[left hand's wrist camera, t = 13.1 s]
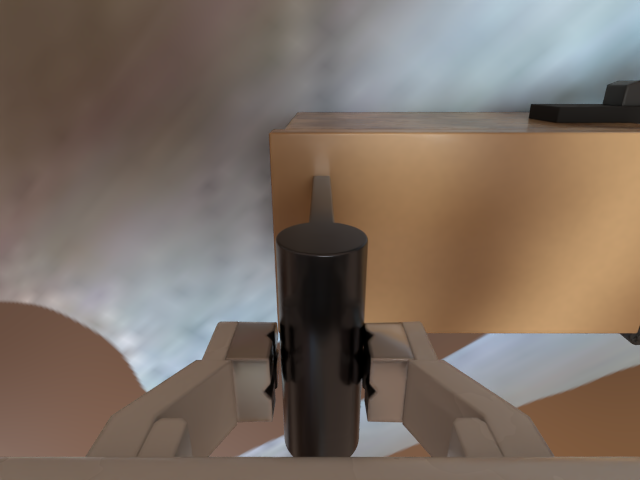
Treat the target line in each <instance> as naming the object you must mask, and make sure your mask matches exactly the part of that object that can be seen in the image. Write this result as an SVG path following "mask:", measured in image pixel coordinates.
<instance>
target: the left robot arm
mask: <svg viewBox="0 0 640 480" xmlns="http://www.w3.org/2000/svg"><path fill="white" fill-rule="evenodd" d="M277 341H278V328H277V322H219V323H218V324H217V326H216V328H215V331H214V333H213V335H212V338H211V340H210V342H209V345H208V347H207V349H206V351H205V354H204V356H203V358H202V360H196V361H194V362H193V363H191V364H190V365H188V366H187V367H185V368H183V369H182V370H180V371H179V372H177V373H176V374H174V375H173V376H171V377H170V378H168V379H167V380H165V381H164V382H162V383H161V384H159V385H158V386H156V387H155V388H153V389H152V390H150V391H148V392H147V393H145V394H144V395H142V396H141V397H139V398H138V399H136V400H135V401H133V402H132V403H130V404H129V405H127V406H126V407H124V408H123V409H121V410H120V411H118V412H117V413H115V414H113V415H112V416H111V417H110V419H109V420H108V422H107V423H106V425H105V427H104V428H103V430H102V431H101V433H100V435H99V436H98V438H97V439H96V441H95V442H94V444H93V446H92V447H91V449H90V450H89V452H88V454H87V455H86V457H0V480H640V457H554V455H553V453H552V452H551V450H550V449H549V447H548V445H547V444H546V442H545V441H544V439H543V438H542V436H541V434H540V433H539V431H538V430H537V428H536V426H535V425H534V423H533V422H532V420H531V418H530V417H529V416H528V415H526V414H525V413H523V412H522V411H520V410H519V409H517V408H516V407H514V406H513V405H511V404H510V403H508V402H507V401H505V400H503V399H502V398H500V397H499V396H497V395H496V394H494V393H493V392H491V391H490V390H488V389H487V388H485V387H484V386H482V385H481V384H479V383H478V382H476V381H475V380H473V379H472V378H470V377H469V376H467V375H466V374H464V373H463V372H461V371H460V370H458V369H457V368H455V367H453V366H452V365H450V364H449V363H447V362H446V361H444V360H438V358H437V356H436V354H435V352H434V349H433V347H432V345H431V342H430V340H429V338H428V336H427V333H426V331H425V329H424V327H423V324H422V323H421V322H420V321H414V322H387V323H364V338H363V347H364V348H363V359H362V386H363V388H364V389H365V407H366V413H367V420H368V421H373V422H403V425H404V426H405V427H406V428H407V429H408V431H409V432H410V433H411V434H412V435H413V436H414V437H415V439H416V440H417V441H418V442H419V443H420V444H421V445H422V446H423V448H424V449H425V450H426V451H427V452H428V453H429V454H430V455H431V457H209V456H210V455H211V453H212V452H213V451H214V450H215V449H216V448H217V447H218V445H219V444H220V443H221V442H222V441H223V440H224V439H225V438H226V437H227V435H228V434H229V433H230V432H231V431H232V430H233V429H234V428H235V426H236V425H237V422H265V421H272V420H273V413H274V407H275V389H276V388H277V386H278V376H279V350H278V349H277V348H276V347H277Z"/></svg>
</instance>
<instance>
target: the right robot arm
mask: <svg viewBox="0 0 640 480" xmlns="http://www.w3.org/2000/svg"><path fill="white" fill-rule="evenodd" d="M529 119H535V120H541V121H547V122H553V123H636V124H640V81H617V82H614V83H612V84H609V85H607V89H606V93H605V97H604V101H603V104H531V108H530V113H529ZM620 334H621V335H622V336H623V337H624V338H626V339H627V340H628V341H629V342H631V343H632V344H634V345H640V326H639V329H638V332H637V333H620Z"/></svg>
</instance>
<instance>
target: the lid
mask: <svg viewBox="0 0 640 480" xmlns="http://www.w3.org/2000/svg"><path fill="white" fill-rule="evenodd" d="M269 145H270V166H271V187H272V208H273V230H274V251H275V272H276V293H277V314H278V331H279V333H280V348H281V370H282V392H283V414H284V436H285V443H286V446H287V449H288V450H289V452H290V453H291V455H292V456H293V457H350V456H351V455H352V454H353V453H354V451H355V449H356V447H357V445H358V440H359V423H360V402H361V381H362V359H363V338H364V323H387V322H414V321H420V322H421V323H422V324H423V327H424V329H425V331H426V333H637V332H638V329H639V326H640V129H274V130H272V131H271V132H270V133H269Z"/></svg>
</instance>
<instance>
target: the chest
mask: <svg viewBox="0 0 640 480" xmlns="http://www.w3.org/2000/svg"><path fill="white" fill-rule="evenodd" d="M529 113H530V112H298V113H297V114H296V115H295V117H294V118H293V119H292V120H291V122H290V123H289V124H288V125H287V127H286V128H285V129H640V124H636V123H553V122H547V121H541V120H535V119H529Z"/></svg>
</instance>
